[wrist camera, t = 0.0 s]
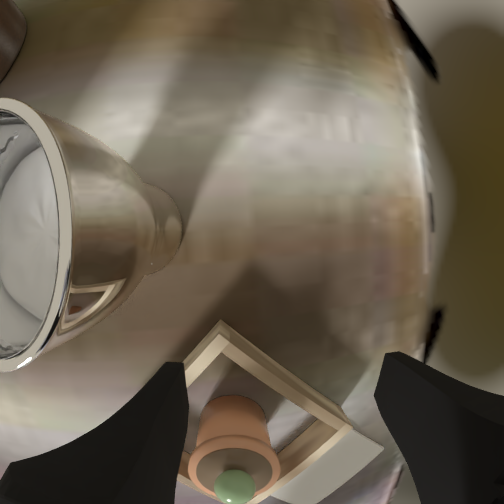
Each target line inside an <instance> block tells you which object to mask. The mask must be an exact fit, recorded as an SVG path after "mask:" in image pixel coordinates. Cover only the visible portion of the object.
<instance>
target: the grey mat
mask: <svg viewBox="0 0 504 504" xmlns="http://www.w3.org/2000/svg"><path fill="white" fill-rule="evenodd" d="M383 450H384V447H383V446H381V445H380V444H378V443H376V442H374V441H373V440H371V439H369V438H368V437H366V436H364V435H362V434H361V433H359V432H357V431H356V430H354V429H351V430H350V431H349V432H348V433H347V434H346V435H345V436H344V437H343V438H341V439H340V440H339V441H338V442H337V443H336V444H335V445H334V446H333V447H331V448H330V449H329V450H328V451H327V452H326V453H324V454H323V455H322V456H321V457H320V458H318V459H317V460H316V461H315V462H314V463H312V464H311V465H310V466H309V467H307V468H306V469H305V470H304V471H302V472H301V473H300V474H298V475H297V476H296V477H294V478H293V479H292V480H290V481H289V482H288V483H286V484H285V485H284V486H282V487H281V488H280V489H278V490H277V491H275V492H274V493H272V494H271V495H270V496H273V497H275V498H278V499H280V500H283V501H285V502H288V503H291V504H317V503H318V502H320V501H321V500H323V499H324V498H325V497H327V496H328V495H329V494H331V493H332V492H334V491H335V490H336V489H337V488H339V487H340V486H341V485H343V484H344V483H345V482H347V481H348V480H349V479H350V478H352V477H353V476H354V475H355V474H356V473H358V472H359V471H360V470H361V469H362V468H364V467H365V466H366V465H367V464H368V463H369V462H371V461H372V460H373V459H374V458H375V457H376V456H377V455H378V454H379V453H381V452H382V451H383Z"/></svg>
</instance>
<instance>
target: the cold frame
mask: <svg viewBox="0 0 504 504" xmlns="http://www.w3.org/2000/svg"><path fill="white" fill-rule="evenodd" d="M220 352H222V353H223V354H225V355H226V356H227V357H229V358H230V359H231V360H233V361H234V362H235V363H237V364H238V365H239V366H241V367H242V368H244V369H245V370H246V371H248V372H249V373H251V374H252V375H253V376H255V377H256V378H258V379H259V380H260V381H262V382H263V383H265V384H266V385H268V386H269V387H271V388H272V389H274V390H275V391H276V392H278V393H279V394H281V395H282V396H284V397H285V398H287V399H288V400H290V401H291V402H293V403H295V404H296V405H298V406H299V407H301V408H302V409H304V410H305V411H307V412H309V413H310V414H312V415H313V416H315V417H316V418H318V419H317V420H316V421H315V422H314V423H313V424H312V425H311V426H309V427H308V428H307V429H306V430H305V431H304V432H303V433H302V434H301V435H299V436H298V437H297V438H296V439H295V440H294V441H293V442H291V443H290V444H289V445H288V446H287V447H286V448H284V449H283V450H282V451H281V452H280V453H278V454H277V456H278V459H279V463H280V475H279V478H278V480H277V481H276V483H275V484H274V485H273V486H272V487H271V488H269V489H268V490H267V491H265V492H263V493H261V494H259V495H256V496H253V497H252V499H251V500H250V501H248V502H247V503H245V504H258V503H259V502H261V501H262V500H264V499H265V498H267V497H268V496H269V495H271V494H272V493H274V492H275V491H277V490H278V489H280V488H281V487H282V486H284V485H285V484H286V483H288V482H289V481H290V480H292V479H293V478H294V477H296V476H297V475H298V474H300V473H301V472H302V471H304V470H305V469H306V468H307V467H309V466H310V465H311V464H312V463H314V462H315V461H316V460H317V459H318V458H320V457H321V456H322V455H323V454H324V453H326V452H327V451H328V450H329V449H330V448H331V447H333V446H334V445H335V444H336V443H337V442H338V441H339V440H340V439H341V438H343V437H344V436H345V435H346V434H347V433H348V432H349V431H350V430H351V429H352V428H353V426H352V425H351V423H350V421H349V420H348V418H347V416H346V415H345V413H344V412H343V410H342V408H341V407H340V406H338V405H337V404H335V403H334V402H332V401H331V400H329V399H328V398H326V397H325V396H323V395H322V394H321V393H319V392H318V391H316V390H315V389H313V388H312V387H310V386H309V385H308V384H306V383H305V382H303V381H302V380H301V379H299V378H298V377H296V376H295V375H294V374H292V373H291V372H289V371H288V370H287V369H285V368H284V367H282V366H281V365H280V364H278V363H277V362H276V361H274V360H273V359H272V358H270V357H269V356H268V355H266V354H265V353H264V352H262V351H261V350H260V349H258V348H257V347H256V346H254V345H253V344H252V343H250V342H249V341H248V340H247V339H245V338H244V337H243V336H241V335H240V334H239V333H237V332H236V331H235V330H234V329H232V328H231V327H230V326H229V325H227V324H226V323H225V322H224V321H222V320H221V319H220V320H219V321H218V323H217V324H216V325H215V326H214V327H213V328H212V329H211V331H210V332H209V333H208V334H207V335H206V336H205V337H204V338H203V340H202V341H201V342H200V343H199V344H198V345H197V346H196V347H195V349H194V350H193V351H192V352H191V353H190V354H189V355H188V356H187V358H186V359H185V360H184V361H183V362H182V363H184V370H185V378H186V387H187V388H188V386H189V385H190V384H191V383H192V382H193V381H194V380H195V379H196V378H197V377H198V376H199V375H200V374H201V373H202V372H203V371H204V370H205V368H206V367H207V366H208V365H209V364H210V363H211V362H212V361H213V360H214V359H215V358H216V357H217V355H218V354H219V353H220ZM189 459H190V454H188V453H187V452H185V451H183V452H182V457H181V462H180V467H179V471H178V476H177V481H179V482H181V483H183V484H185V485H187V486H189V487H190V488H192V489H194V490H196V491H198V492H200V493H203V494H205V495H207V496H209V497H211V498H213V499H215V500H218V501H220V502H222V501H221V500H220V499H219V498H218V497H216V496H213V495H210V494H208V493H206V492H204V491H202V490H201V489H199V488H198V487H197V486H196V485H195V484H194V483H193V482H192V480H191V479H190V476H189V473H188V465H189ZM222 503H224V502H222ZM224 504H226V503H224Z"/></svg>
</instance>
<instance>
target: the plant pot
mask: <svg viewBox="0 0 504 504" xmlns="http://www.w3.org/2000/svg"><path fill="white" fill-rule="evenodd" d="M26 31H27V24H26V21H25V18H24V15H23V14H22V12H21V11H20V10H19V9H18V7H17V6H16V4H15V3H14V2H13V0H0V82H1V80H2V79H3V78H4V76H5V75H6V73H7V72H8V70H9V69H10V67H11V65H12V64H13V62H14V60H15V58H16V57H17V55H18V53H19V51H20V49H21V46H22V44H23V41H24V38H25V35H26Z"/></svg>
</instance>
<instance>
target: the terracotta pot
mask: <svg viewBox="0 0 504 504" xmlns="http://www.w3.org/2000/svg"><path fill="white" fill-rule="evenodd" d="M188 473H189V476H190V479H191V480H192V482H193V483H194V484H195V485H196V486H197V487H198V488H199V489H201V490H202V491H204V492H206V493H208V494H210V495H213V496H216V497H218V498H219V499H220V500H221V501H222V502H224V503H226V504H245V503H247V502H248V501H250V500H251V499H252V497H253V496H256V495H259V494H261V493H263V492H265V491H267V490H268V489H269V488H271V487H272V486H273V485H274V484H275V483H276V481H277V480H278V478H279V475H280V463H279V459H278V456H277V454H276V452H275V451H274V449H273V448H272V447H271V444H270V439H269V434H268V428H267V423H266V418H265V414H264V411H263V410H262V408H261V407H260V406H259V405H258V404H257V403H256V402H255V401H253V400H251V399H249V398H246V397H243V396H238V395H227V396H222V397H218V398H216V399H214V400H212V401H210V402H209V403H208V404H207V405H206V406H205V407H204V408H203V410H202V412H201V416H200V422H199V429H198V436H197V443H196V448H195V449H194V450H193V452H192V453H191V455H190V459H189V465H188Z"/></svg>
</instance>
